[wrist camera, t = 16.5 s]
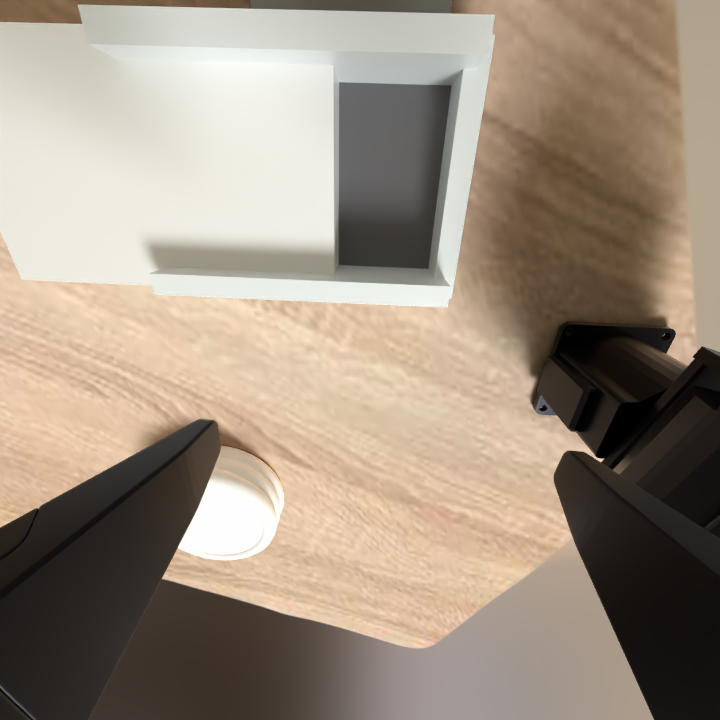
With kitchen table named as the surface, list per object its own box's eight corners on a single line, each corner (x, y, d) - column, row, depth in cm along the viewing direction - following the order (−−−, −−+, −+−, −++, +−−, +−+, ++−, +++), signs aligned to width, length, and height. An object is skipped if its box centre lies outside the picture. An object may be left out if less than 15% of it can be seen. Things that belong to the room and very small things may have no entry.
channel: (476, 58, 14) (510, 15, 11) (442, 286, 19) (458, 308, 15) (-24, 45, 15) (-151, -1, 11) (62, 269, 19) (-8, 287, 16)
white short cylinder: (153, 439, 26) (122, 473, 23) (278, 442, 25) (264, 478, 22) (185, 522, 30) (163, 561, 27) (291, 526, 30) (281, 566, 27)
